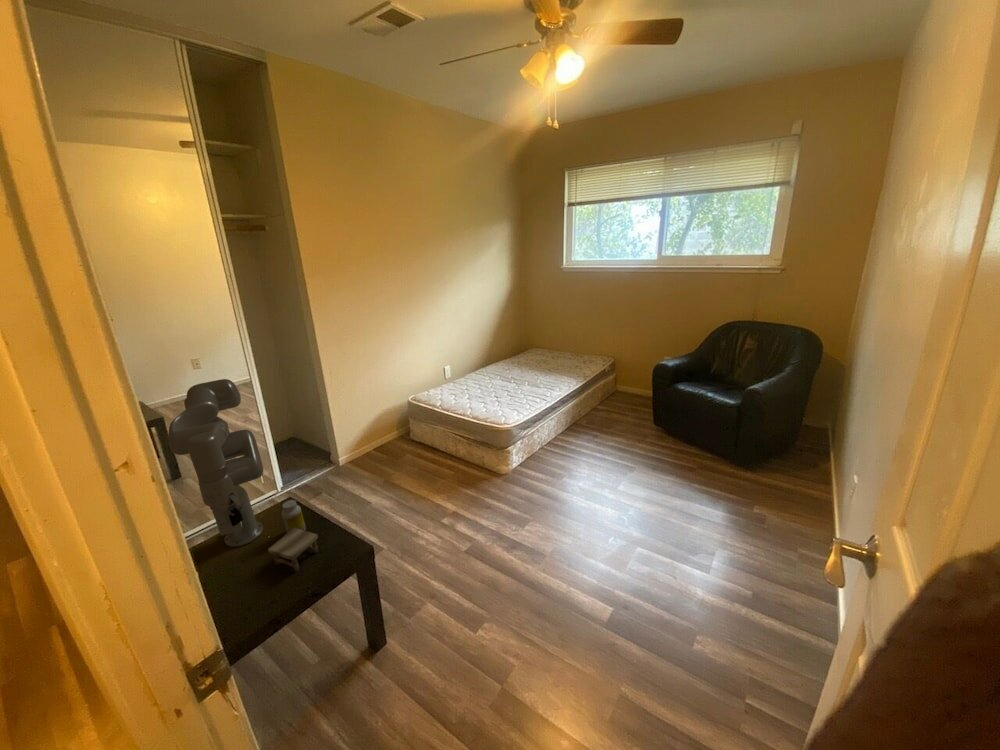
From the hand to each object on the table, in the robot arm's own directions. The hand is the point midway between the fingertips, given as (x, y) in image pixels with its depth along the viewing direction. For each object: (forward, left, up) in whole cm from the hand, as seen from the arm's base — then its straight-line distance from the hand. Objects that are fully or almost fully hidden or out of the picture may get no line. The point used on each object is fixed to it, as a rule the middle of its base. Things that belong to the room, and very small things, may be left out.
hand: (229, 520), depth 126 cm
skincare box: (0, 0, -3) cm, 3 cm away
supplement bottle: (-2, +22, -24) cm, 32 cm away
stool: (+9, +12, -23) cm, 28 cm away
